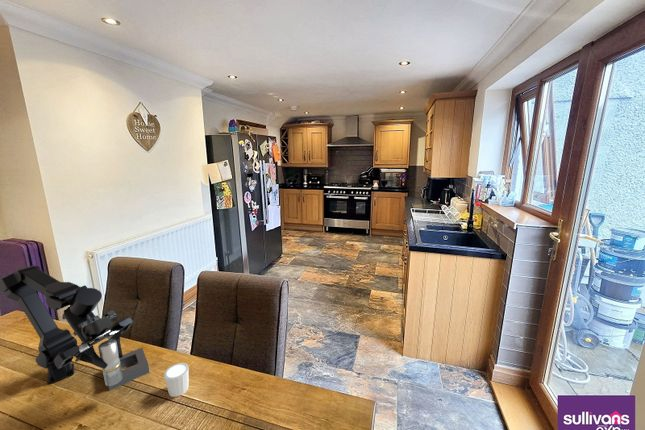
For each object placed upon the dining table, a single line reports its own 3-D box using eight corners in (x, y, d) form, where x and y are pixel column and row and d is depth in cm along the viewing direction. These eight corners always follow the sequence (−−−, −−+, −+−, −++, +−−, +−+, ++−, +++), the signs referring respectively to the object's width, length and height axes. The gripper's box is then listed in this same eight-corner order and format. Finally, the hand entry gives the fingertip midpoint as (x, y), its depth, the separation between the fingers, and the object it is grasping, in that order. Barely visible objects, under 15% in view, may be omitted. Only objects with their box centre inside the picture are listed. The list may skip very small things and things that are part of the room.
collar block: (106, 370, 94) (104, 362, 93) (143, 355, 101) (142, 347, 100) (109, 390, 86) (107, 381, 85) (149, 372, 93) (148, 363, 92)
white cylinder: (180, 400, 82) (178, 380, 81) (161, 396, 84) (158, 377, 82) (195, 382, 89) (193, 364, 87) (177, 379, 90) (174, 361, 89)
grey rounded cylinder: (104, 380, 82) (97, 343, 79) (121, 372, 84) (115, 337, 82) (105, 388, 79) (98, 351, 76) (123, 380, 81) (117, 344, 79)
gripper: (51, 326, 70) (85, 374, 68) (125, 293, 87) (154, 331, 85) (40, 345, 74) (72, 391, 72) (112, 310, 91) (140, 347, 89)
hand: (113, 362), depth 80 cm, fingers closed on grey rounded cylinder, 4 cm apart
